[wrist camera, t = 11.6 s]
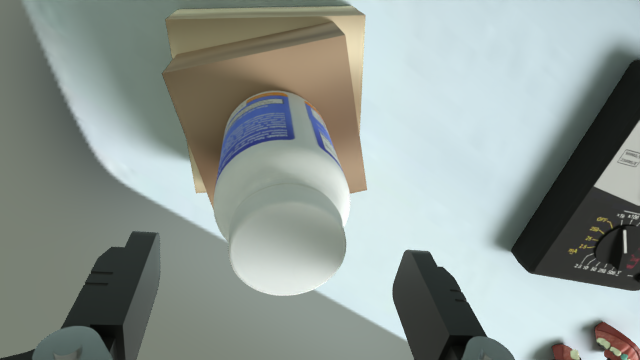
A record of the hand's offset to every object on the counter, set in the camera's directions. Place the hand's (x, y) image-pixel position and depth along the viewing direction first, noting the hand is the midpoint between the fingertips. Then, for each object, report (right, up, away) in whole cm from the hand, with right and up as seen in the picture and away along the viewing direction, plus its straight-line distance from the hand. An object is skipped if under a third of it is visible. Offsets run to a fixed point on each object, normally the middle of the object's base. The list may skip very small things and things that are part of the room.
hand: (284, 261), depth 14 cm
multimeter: (+28, +3, +24) cm, 37 cm away
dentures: (+32, -17, +36) cm, 51 cm away
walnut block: (-2, +7, +12) cm, 14 cm away
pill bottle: (-1, +5, +9) cm, 10 cm away
